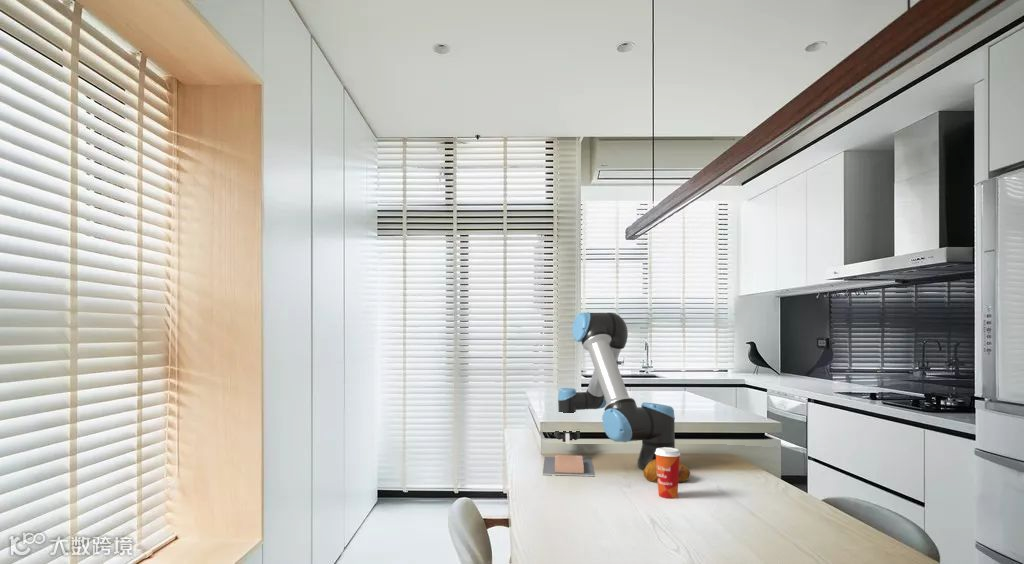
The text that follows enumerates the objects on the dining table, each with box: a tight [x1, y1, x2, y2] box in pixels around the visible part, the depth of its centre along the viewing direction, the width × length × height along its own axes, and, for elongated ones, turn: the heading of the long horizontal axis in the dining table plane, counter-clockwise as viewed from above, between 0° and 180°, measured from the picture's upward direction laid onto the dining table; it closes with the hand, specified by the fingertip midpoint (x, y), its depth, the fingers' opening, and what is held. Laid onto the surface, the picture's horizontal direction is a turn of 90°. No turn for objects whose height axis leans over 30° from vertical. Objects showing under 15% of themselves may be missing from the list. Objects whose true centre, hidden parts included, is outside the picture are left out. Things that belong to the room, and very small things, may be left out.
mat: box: [542, 456, 596, 478], centre depth 217 cm, size 26×18×1 cm
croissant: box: [643, 459, 691, 483], centre depth 202 cm, size 14×16×8 cm
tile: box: [554, 454, 584, 473], centre depth 213 cm, size 3×10×16 cm
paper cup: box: [655, 447, 681, 500], centre depth 182 cm, size 8×8×14 cm
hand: (567, 440), depth 222 cm, fingers closed
